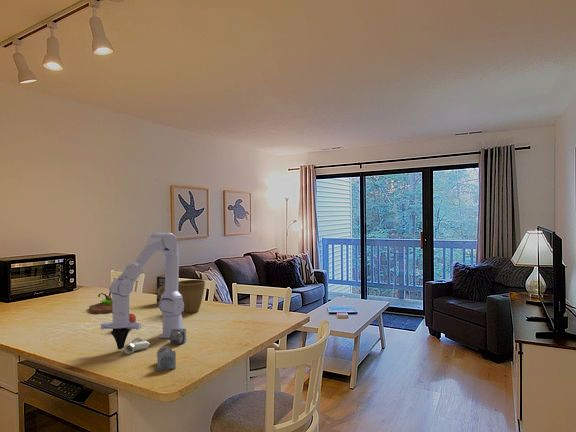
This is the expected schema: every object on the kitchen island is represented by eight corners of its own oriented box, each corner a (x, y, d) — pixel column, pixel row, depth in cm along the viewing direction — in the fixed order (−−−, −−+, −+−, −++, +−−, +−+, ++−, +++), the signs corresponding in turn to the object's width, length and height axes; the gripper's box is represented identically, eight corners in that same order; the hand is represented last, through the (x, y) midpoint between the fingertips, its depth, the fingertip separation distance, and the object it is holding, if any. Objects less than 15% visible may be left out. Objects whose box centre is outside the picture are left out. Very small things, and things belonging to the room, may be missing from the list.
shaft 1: (156, 362, 128) (156, 347, 128) (173, 360, 130) (173, 345, 131) (157, 371, 121) (157, 355, 121) (175, 368, 123) (175, 352, 123)
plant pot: (203, 307, 209) (203, 278, 209) (206, 313, 195) (206, 283, 195) (175, 309, 204) (175, 280, 205) (176, 316, 190) (176, 284, 190)
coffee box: (156, 304, 217) (156, 276, 217) (162, 302, 223) (162, 275, 223) (169, 305, 214) (169, 277, 214) (176, 303, 220) (176, 275, 220)
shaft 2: (172, 341, 150) (172, 328, 150) (186, 341, 150) (186, 328, 150) (168, 344, 146) (168, 331, 146) (182, 345, 146) (182, 331, 146)
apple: (116, 332, 163) (116, 314, 163) (119, 327, 170) (119, 310, 170) (134, 331, 165) (134, 312, 165) (136, 326, 172) (136, 309, 172)
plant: (132, 311, 203) (132, 290, 203) (92, 316, 192) (92, 294, 192) (125, 304, 219) (125, 285, 219) (88, 308, 209) (88, 288, 209)
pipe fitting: (150, 348, 144) (133, 346, 145) (151, 338, 144) (134, 336, 145) (141, 356, 136) (123, 354, 137) (142, 345, 136) (124, 343, 137)
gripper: (96, 314, 136) (96, 351, 136) (135, 314, 135) (135, 352, 135) (106, 309, 143) (106, 345, 143) (143, 309, 142) (143, 345, 142)
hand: (120, 348), depth 140 cm, fingers closed
